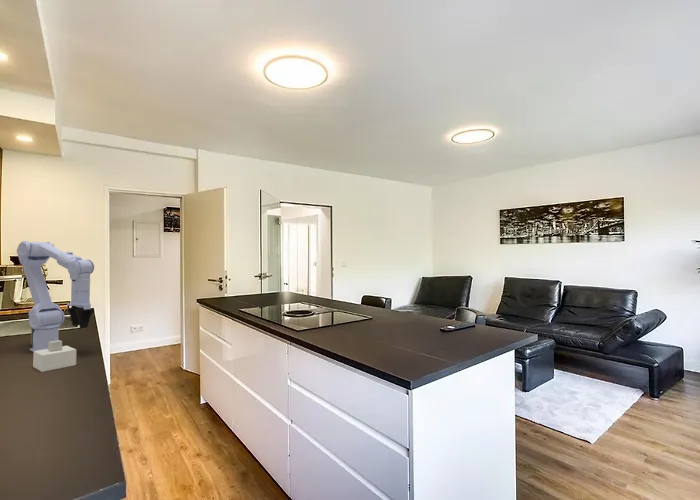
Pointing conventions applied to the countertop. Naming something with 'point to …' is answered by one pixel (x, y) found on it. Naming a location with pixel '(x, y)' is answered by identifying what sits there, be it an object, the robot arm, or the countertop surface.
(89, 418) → the countertop surface
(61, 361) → the grey knobbed block
